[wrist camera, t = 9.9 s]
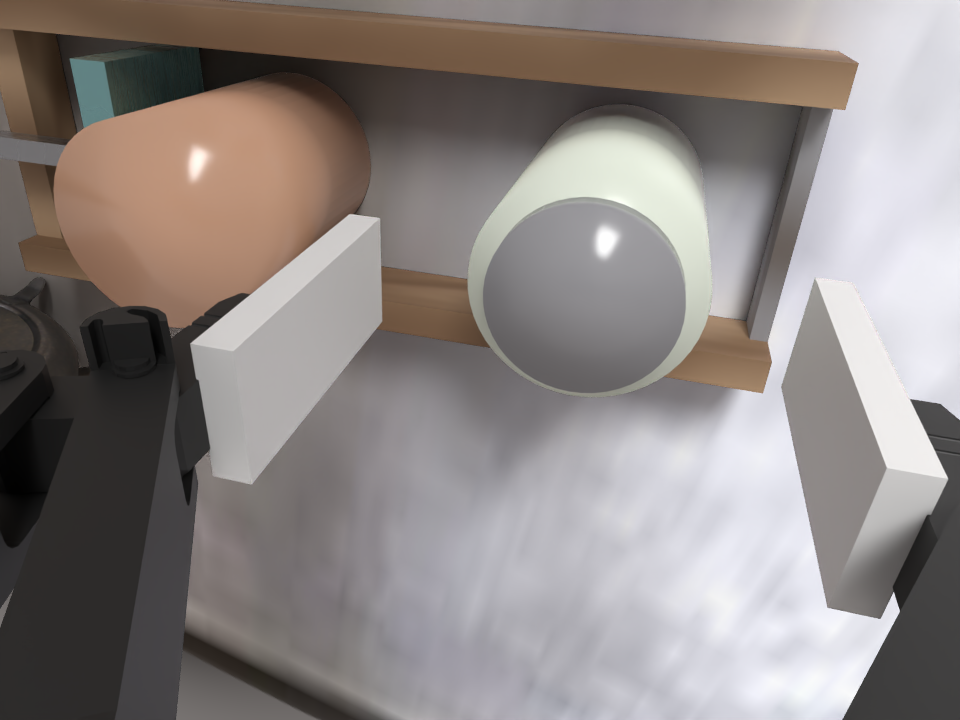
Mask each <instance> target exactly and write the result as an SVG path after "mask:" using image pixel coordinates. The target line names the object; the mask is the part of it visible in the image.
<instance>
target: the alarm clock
mask: <svg viewBox="0 0 960 720" xmlns="http://www.w3.org/2000/svg"><path fill="white" fill-rule="evenodd" d="M44 287H45V280H44V279H43V278H41V277H40V278H35V279H34V280H32V281H31V282H30V284H29V285H28V286H26V287H25V288H24V289H22V290H21V291H20V292H18V293H17V294H16V295H14V296H8V297H7V296H4V295H0V350H28V351H35V352H37V353H39V354H41V355H43V356H44V358H45V361H46V364H47V367H48V371H49V374H50V376H89V374H90V372H91V370H90V367H83V368H79V362H78V355H77V350H76V348H75V345H74V343H73V341H72V340H71V338H70V337H69V335H68V334H67V333H66V331H65V330H64V329H63V328H62V327H61V326H60V325H59V324H58V323H57V322H56V321H55V320H53V319H52V318H51V317H49V316H48V315H46V314H45V313H43V312H41V311H40V310H38V309H37V308H35V307H33V306H31V305H30V302H31V301H32V299H33V298H35V297H36V296H37V295H38V294H39V293H40V292H41V291H42V290H43V289H44Z"/></svg>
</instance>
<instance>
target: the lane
mask: <svg viewBox="0 0 960 720" xmlns="http://www.w3.org/2000/svg"><path fill="white" fill-rule="evenodd" d="M56 34H64V35H75V36H85V37H95V38H106V39H116V40H126V41H137V42H147V43H157V44H168V45H178V46H188V47H199V48H209V49H219V50H230V51H240V52H250V53H261V54H271V55H281V56H292V57H302V58H313V59H323V60H333V61H344V62H354V63H364V64H375V65H385V66H395V67H406V68H416V69H426V70H437V71H447V72H457V73H468V74H478V75H488V76H499V77H509V78H519V79H530V80H540V81H550V82H561V83H571V84H581V85H592V86H602V87H612V88H623V89H633V90H643V91H654V92H664V93H674V94H685V95H695V96H705V97H716V98H726V99H736V100H747V101H757V102H767V103H778V104H788V105H798V106H803V107H802V111H801V115H800V119H799V123H798V126H797V130H796V134H795V138H794V142H793V145H792V149H791V153H790V157H789V161H788V164H787V168H786V172H785V176H784V180H783V184H782V187H781V191H780V195H779V199H778V203H777V206H776V210H775V214H774V218H773V222H772V225H771V229H770V233H769V237H768V241H767V245H766V248H765V252H764V256H763V260H762V264H761V267H760V271H759V275H758V279H757V283H756V286H755V290H754V294H753V298H752V302H751V306H750V309H749V313H748V317H747V321H743V320H736V319H729V318H723V317H716V316H709V315H708V318H707V322H706V325H705V327H704V329H703V331H702V334H701V336H700V338H699V340H698V341H697V343H696V344H695V346H694V347H693V349H692V350H691V352H690V353H689V354H688V355H687V356H686V357H685V359H684V360H683V361H682V362H681V363H680V364H679V365H678V366H676V367H675V368H674V369H673V370H672V371H671V372H670V373H668V374H667V375H665V376H664V377H668V378H674V379H680V380H686V381H692V382H698V383H704V384H710V385H716V386H722V387H728V388H734V389H740V390H746V391H752V392H758V393H763V391H764V388H765V384H766V381H767V377H768V374H769V370H770V367H771V363H772V361H771V356H770V352H769V347H768V338H769V335H770V331H771V328H772V324H773V321H774V317H775V314H776V310H777V306H778V303H779V299H780V296H781V292H782V289H783V285H784V282H785V278H786V275H787V271H788V268H789V264H790V260H791V257H792V253H793V250H794V246H795V243H796V239H797V236H798V232H799V229H800V225H801V222H802V218H803V214H804V211H805V207H806V204H807V200H808V197H809V193H810V190H811V186H812V183H813V179H814V176H815V172H816V168H817V165H818V161H819V158H820V154H821V151H822V147H823V144H824V140H825V137H826V133H827V130H828V126H829V122H830V119H831V115H832V112H833V109H840V110H845V109H846V105H847V102H848V98H849V95H850V91H851V88H852V85H853V81H854V78H855V74H856V71H857V67H858V64H859V63H857V62H856V61H854V60H852V59H851V58H849V57H847V56H845V55H844V54H842V53H840V52H839V51H828V50H816V49H804V48H792V47H780V46H768V45H756V44H744V43H732V42H720V41H708V40H696V39H684V38H672V37H660V36H648V35H636V34H624V33H612V32H600V31H588V30H576V29H564V28H552V27H539V26H527V25H515V24H503V23H491V22H479V21H467V20H455V19H443V18H431V17H419V16H407V15H395V14H383V13H371V12H359V11H347V10H335V9H323V8H311V7H299V6H287V5H275V4H263V3H251V2H239V1H227V0H0V91H1V95H2V99H3V103H4V107H5V111H6V115H7V118H8V122H9V126H10V130H11V132H17V133H25V134H33V135H41V136H48V137H56V138H64V139H72V138H73V137H74V136H75V135H76V134H77V132H76V128H75V123H74V118H73V113H72V109H71V104H70V99H69V95H68V90H67V85H66V80H65V76H64V71H63V66H62V62H61V57H60V52H59V47H58V43H57V38H56ZM18 162H19V166H20V170H21V173H22V177H23V181H24V185H25V189H26V193H27V197H28V201H29V205H30V209H31V213H32V217H33V221H34V224H35V228H36V232H37V235H35V236H33V237H31V238H28V239H26V240H24V241H21V242H19V243H18V244H19V247H20V251H21V255H22V258H23V262H24V266H25V270H26V271H31V272H37V273H43V274H49V275H55V276H61V277H67V278H74V279H80V280H86V281H91V280H90V279H89V278H88V277H87V275H86V274H85V273H84V271H83V270H82V269H81V268H80V266H79V265H78V263H77V261H76V260H75V258H74V257H73V255H72V253H71V251H70V249H69V247H68V246H67V244H66V241H65V239H64V236H63V234H62V232H61V229H60V226H59V222H58V219H57V215H56V209H55V204H54V177H55V172H56V167H57V166H52V165H45V164H38V163H30V162H23V161H18ZM381 285H382V322H381V324H380V325H379V326H378V327H377V329H380V330H386V331H392V332H398V333H404V334H410V335H416V336H422V337H428V338H434V339H440V340H446V341H452V342H458V343H464V344H470V345H476V346H482V347H488V348H491V347H490V346H489V345H488V343H487V342H486V340H485V339H484V337H483V335H482V333H481V332H480V330H479V328H478V326H477V323H476V321H475V319H474V316H473V313H472V309H471V306H470V301H469V294H468V279H462V278H455V277H449V276H442V275H435V274H429V273H422V272H415V271H409V270H402V269H395V268H389V267H382V266H381ZM261 286H262V285H261ZM256 290H257V289H256ZM256 290H255V291H256ZM252 293H253V292H252ZM252 293H251V294H252Z"/></svg>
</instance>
